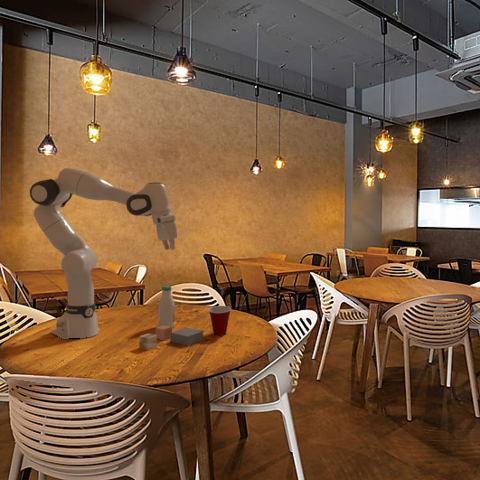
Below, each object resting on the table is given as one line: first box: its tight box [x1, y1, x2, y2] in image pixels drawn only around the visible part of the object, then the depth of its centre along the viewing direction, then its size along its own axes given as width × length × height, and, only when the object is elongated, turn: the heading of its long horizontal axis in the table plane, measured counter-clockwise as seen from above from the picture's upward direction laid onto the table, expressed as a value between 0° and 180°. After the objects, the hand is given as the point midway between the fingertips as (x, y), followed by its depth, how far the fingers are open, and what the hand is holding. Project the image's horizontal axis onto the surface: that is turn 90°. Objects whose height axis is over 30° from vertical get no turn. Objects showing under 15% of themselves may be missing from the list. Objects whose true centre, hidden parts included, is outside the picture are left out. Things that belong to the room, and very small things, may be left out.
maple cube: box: [138, 332, 158, 351], centre depth 162 cm, size 5×5×5 cm
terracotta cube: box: [155, 325, 173, 341], centre depth 175 cm, size 5×5×5 cm
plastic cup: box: [207, 305, 232, 336], centre depth 183 cm, size 11×11×12 cm
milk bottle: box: [158, 285, 176, 329], centre depth 193 cm, size 8×8×20 cm
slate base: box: [169, 327, 204, 347], centre depth 172 cm, size 10×10×4 cm
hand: (170, 249), depth 172 cm, fingers open, 8 cm apart
